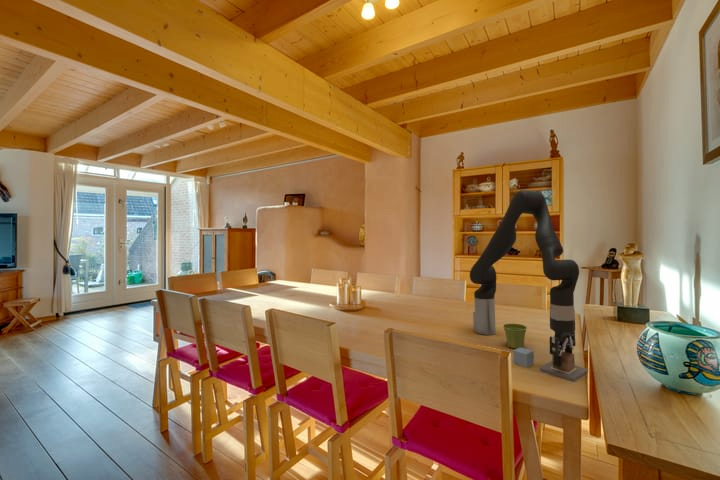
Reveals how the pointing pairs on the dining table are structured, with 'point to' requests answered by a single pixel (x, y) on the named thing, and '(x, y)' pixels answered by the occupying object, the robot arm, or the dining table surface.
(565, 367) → the walnut block
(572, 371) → the plate
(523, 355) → the blue block
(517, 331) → the plant pot
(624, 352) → the dining table surface
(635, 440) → the dining table surface
